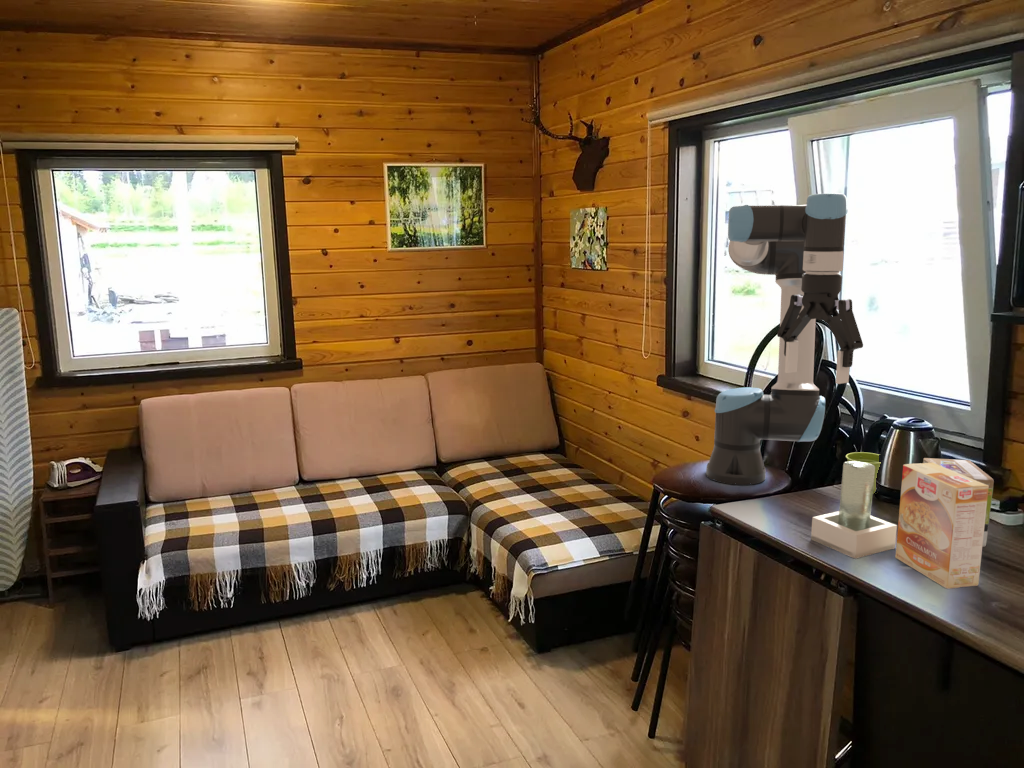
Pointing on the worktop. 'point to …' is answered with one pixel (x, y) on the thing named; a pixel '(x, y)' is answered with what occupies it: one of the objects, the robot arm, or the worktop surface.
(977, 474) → the tea box
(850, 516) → the canister
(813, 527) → the well
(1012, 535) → the worktop surface
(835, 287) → the robot arm
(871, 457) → the plant pot
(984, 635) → the worktop surface
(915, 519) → the coffeecake box
